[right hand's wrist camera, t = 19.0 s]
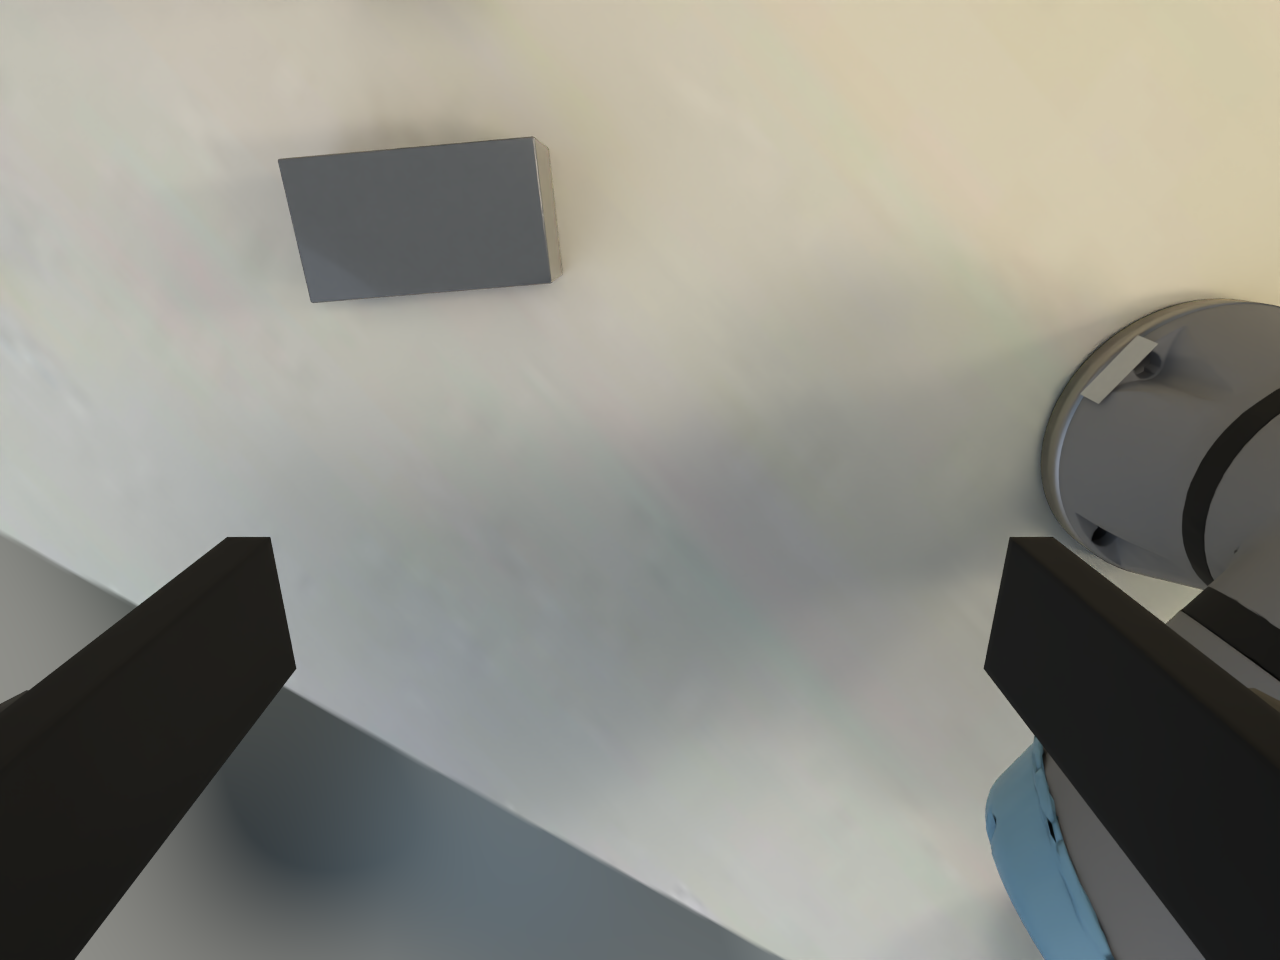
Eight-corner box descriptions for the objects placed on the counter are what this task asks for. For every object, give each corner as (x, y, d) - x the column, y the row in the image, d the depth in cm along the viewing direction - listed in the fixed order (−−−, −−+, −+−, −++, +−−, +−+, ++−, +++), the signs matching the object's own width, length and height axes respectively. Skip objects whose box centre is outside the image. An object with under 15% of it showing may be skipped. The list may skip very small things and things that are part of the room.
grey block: (548, 147, 35) (534, 136, 30) (562, 275, 37) (551, 283, 32) (325, 166, 35) (276, 158, 30) (352, 292, 37) (310, 303, 32)
